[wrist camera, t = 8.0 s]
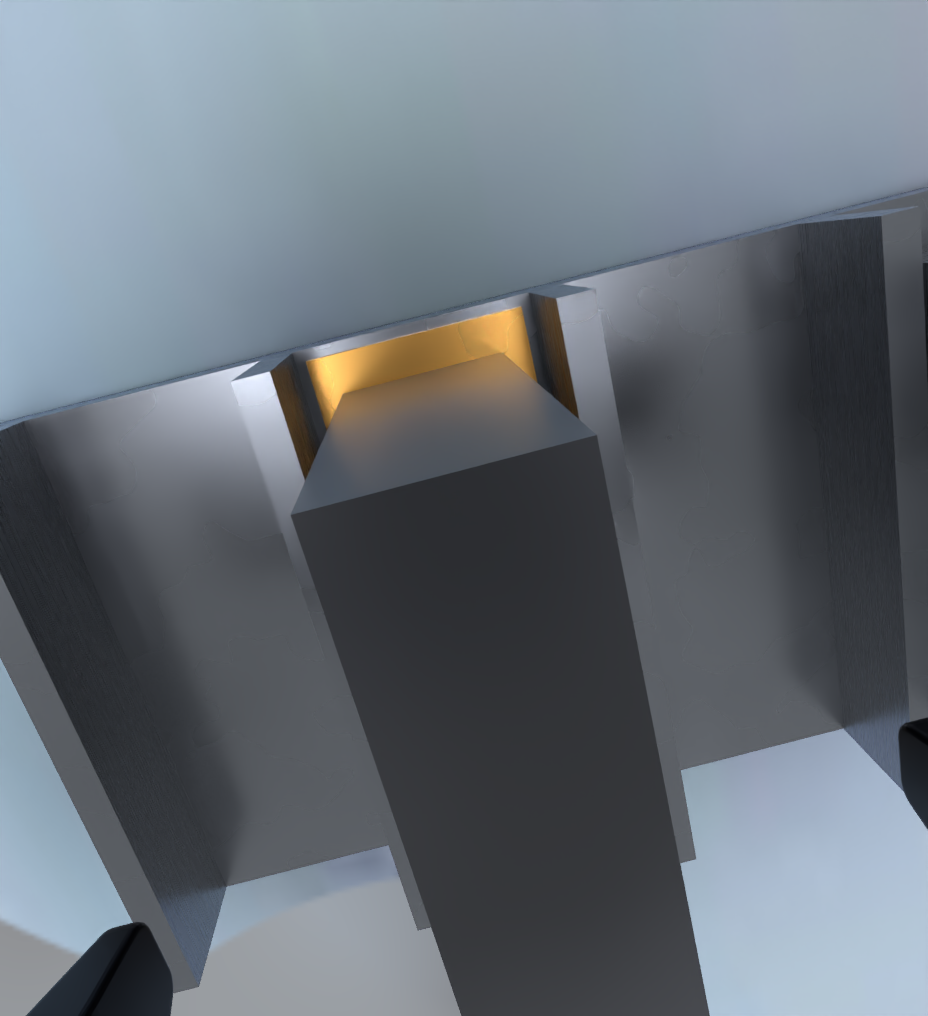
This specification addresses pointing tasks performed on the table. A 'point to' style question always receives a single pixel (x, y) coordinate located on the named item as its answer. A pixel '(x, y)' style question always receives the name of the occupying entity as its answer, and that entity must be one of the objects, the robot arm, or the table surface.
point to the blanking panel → (503, 690)
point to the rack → (636, 514)
